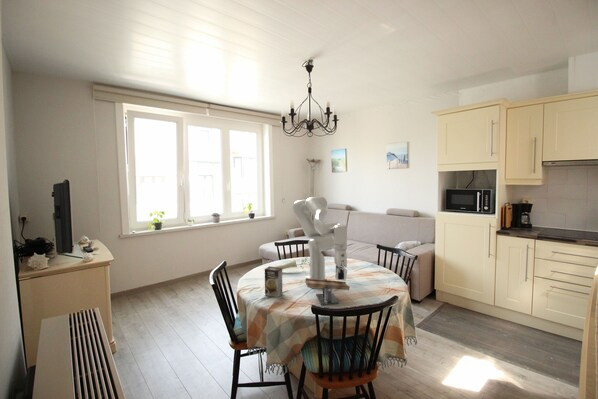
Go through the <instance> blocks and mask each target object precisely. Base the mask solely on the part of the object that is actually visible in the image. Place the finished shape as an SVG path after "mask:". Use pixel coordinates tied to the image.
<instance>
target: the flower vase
mask: <svg viewBox="0 0 598 399" xmlns="http://www.w3.org/2000/svg"><path fill="white" fill-rule="evenodd" d="M304 258H305V259H304V260H303V259H302V260H301V263H298V264H297V261H296V259H293V260H291V261H289V262H286V263H283V264H279V265H274V266H271V267H278V268H282V271H283V270H286V269H291V268H298V266H300V267H301V268H303V265H306V263H307V264H308V265H309V267H310V261H309V262H307V260H308V258H307V257H304ZM305 273H306V271H305Z"/></svg>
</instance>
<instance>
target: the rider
mask: <svg viewBox="0 0 598 399" xmlns="http://www.w3.org/2000/svg"><path fill="white" fill-rule="evenodd" d="M341 269H342V268H340V270H341ZM338 272H339V267H337V268H336V267H335V276H334V277H335V279H336V281H342V282H346V280H347V274H348V269H347V268H345V270H344V279H338Z"/></svg>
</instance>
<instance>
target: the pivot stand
mask: <svg viewBox="0 0 598 399" xmlns="http://www.w3.org/2000/svg"><path fill="white" fill-rule="evenodd" d="M323 280H328V279H327V278H326V279H323ZM315 296H316V298H317V301H318V302H319V304H320V306H329V305H330V306H331V305H339V304H340V303H339V301H338V299H337V297H336V296H335V295H334V293H333V292H332V289H331V285H329V286H327V288H322V293H316V294H315Z"/></svg>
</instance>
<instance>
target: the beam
mask: <svg viewBox="0 0 598 399" xmlns="http://www.w3.org/2000/svg"><path fill="white" fill-rule="evenodd" d="M304 283H305V284H306V286H307V288H311V287H314V288H313V289H315V288H320V289H323V288H327V286H329V285H331V290H341V291H350V286H349V285H348V284H347V282H346V281H342V280H328V279H327V280H318V279H306V280H305V281H304Z"/></svg>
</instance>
